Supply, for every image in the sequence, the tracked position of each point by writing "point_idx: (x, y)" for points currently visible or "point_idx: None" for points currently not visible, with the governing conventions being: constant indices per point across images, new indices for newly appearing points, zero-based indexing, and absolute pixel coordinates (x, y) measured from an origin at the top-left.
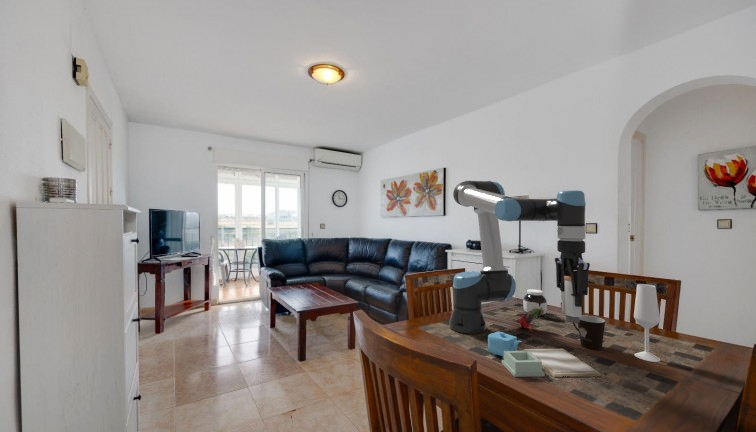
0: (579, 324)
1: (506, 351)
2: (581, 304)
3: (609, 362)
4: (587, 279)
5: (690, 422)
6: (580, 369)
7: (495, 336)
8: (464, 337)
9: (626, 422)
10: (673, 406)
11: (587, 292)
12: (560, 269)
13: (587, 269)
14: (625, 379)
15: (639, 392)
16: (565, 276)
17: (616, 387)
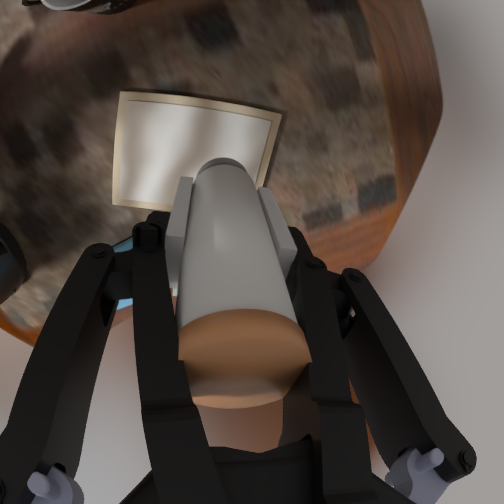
0: (75, 10)
1: (175, 292)
2: (301, 237)
3: (222, 20)
4: (411, 358)
5: (430, 133)
6: (253, 148)
7: (123, 302)
8: (45, 283)
9: (392, 218)
10: (404, 103)
11: (369, 284)
12: (78, 418)
13: (446, 429)
14: (311, 72)
15: (358, 105)
16: (218, 404)
17: (329, 129)
